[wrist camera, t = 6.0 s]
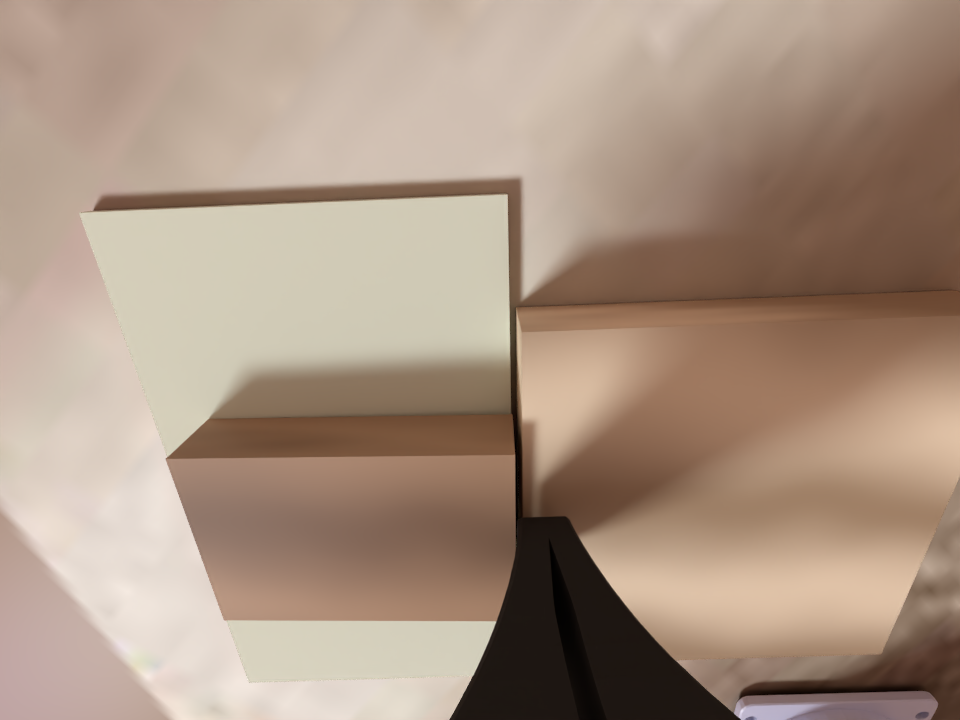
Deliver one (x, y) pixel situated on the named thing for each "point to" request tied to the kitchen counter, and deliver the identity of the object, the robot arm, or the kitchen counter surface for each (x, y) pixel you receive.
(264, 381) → the sage mat
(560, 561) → the robot arm
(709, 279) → the kitchen counter surface
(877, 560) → the block
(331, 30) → the kitchen counter surface
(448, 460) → the walnut tile
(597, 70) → the kitchen counter surface
